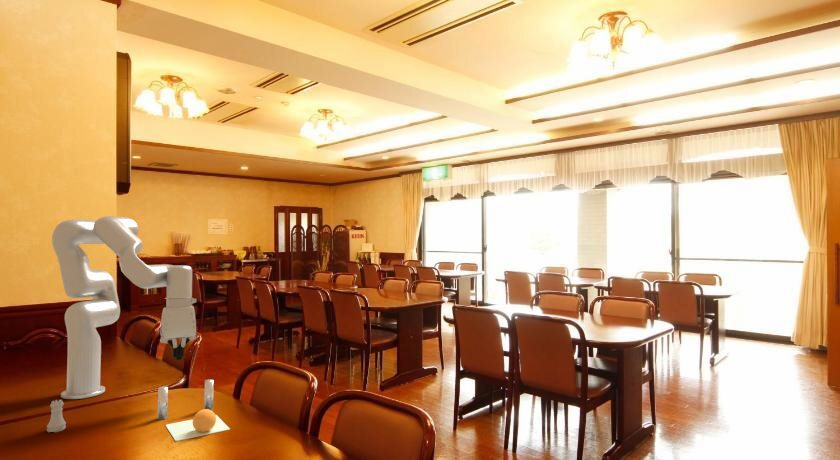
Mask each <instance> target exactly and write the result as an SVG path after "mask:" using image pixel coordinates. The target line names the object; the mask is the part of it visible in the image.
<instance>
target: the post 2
mask: <svg viewBox="0 0 840 460" xmlns="http://www.w3.org/2000/svg"><path fill="white" fill-rule="evenodd" d="M214 382H215V380H214V379H209V378H208V379H204V398H203V399H204V400H203V401H204V403H203V406H204V407H203V409H209V410H211V411H214V392H215V390H214V388H215V387H214V386H215V385H214Z"/></svg>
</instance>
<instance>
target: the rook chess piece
mask: <svg viewBox="0 0 840 460" xmlns="http://www.w3.org/2000/svg"><path fill="white" fill-rule="evenodd" d="M63 400H64V399H55V400H52V401H51V402H50V403H51V404H50V405H49V406H50V408H51V410H50V412H51V415H50V420H49V421H48V424H47V425H46V431H47V432H48V433H50V432H54V433H59V432H62V431H64V430H66V428H67V426H66V424H67V422H66V421H65V419H64V417H63V410H64V408H63V406H64V405H65V403H64V402H63Z"/></svg>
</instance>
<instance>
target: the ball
mask: <svg viewBox="0 0 840 460" xmlns="http://www.w3.org/2000/svg"><path fill="white" fill-rule="evenodd" d="M215 415H216V414H215V412H214V410H209V409H204V408H203V409H201V410H198V411H197V412H196V413H195V415H194V416H193V418H192V419H193V426H194V428H195V429H196V430H197V431H199V432H207V431H209V430H210V429H212V428H213V426H214V425H215V423H216V416H215Z"/></svg>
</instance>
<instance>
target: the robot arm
mask: <svg viewBox="0 0 840 460" xmlns="http://www.w3.org/2000/svg"><path fill="white" fill-rule="evenodd" d="M139 230H140V229H139V226H138V224H137V222H136V221H135V220H134V219H133V218H130V217H128V216H127V217H126V216H114V215H113V216H112V215H105V216H103V217H102V216H101V217H100V218H98V219H81V218H80V219H79V218H78V219H77V218H75V219H67V220H64V221H61V222H59V223H58V224H57V225H56V227H55V228H54V230H53V232H52V235H51V243H52V247H53V250H54V252H55V255H56V258H57V261H58V264H59V270H60V274H61V278H62V279H61V280H62V284H63V289H64V292H65V294H66V296H67V297H69V298H71V299H85V298H92V299H91V300H85V301H79V302H75V303H73V304H72V305H70V306H69V307H68V308H67V309H66V311H65V313H64V324H65V326H66V327H65V328H66V334H67V335H66V336H67V362H66V363H67V365H66V369H67V370H66V390H65V389H64V391H61V393H60V397H61V399H63V400H64V399H65V400H79V399H86V398H87V399H88V398H92V397H95V396H99V395H102V394H103V393H105V392H106V387H105V386H104V385H101V366H102V365H101V360H102V359H101V358H102V357H101V355H102V341H101V336H100V334H99V332H98V331H97V328H99V327H105V326H109V325H112V324H114V323H115V322H117V321H118V320H119V318H120V314H121V306H120V301H119V296H118V292H117V287H116V282H115V279H114V277H113V276H112V274H110V273H109V271H107V270H103V269H92V268H91V265H90V259H89V257H88V255H87V253H86V252H85V251H84V249H83V248H82V247H81V246H80V245H81V244H82V245H96V244H97V245H102V244H105V245H106V246H107V247H108V248H109V249H110V250H111V251H112V252H113V253H114V254H115V255H116V256H118V262H119V263H118V264H119V268H120V270H121V272H122V273H123V275H124V276H125V277H126V278H127V279H128V280H129V281H130V282H131V283H132V284H134V285H135V286H137V287H139V288H141V289H146V290H147V289H153V288H164V287H166V301H165V302H166V307H163V309H162V312H161V321H160V331H159V333H160V339H159V342H160V343H161V344H169V345H170V346H171V347H172V358H174V360H175V361H178V360H180V361H181V360H182V359H183V357H184V356H185V355H184V354H185V352H184V351H185V350H184V349H185V348H184V347H186V345H187V344H188V343H189V342H190V341H194V340H196V339H197V335H196V333H197V321H196V312H195V307H194V305H193V304H195V303H197V298H194V297H193V268H192V267H191V266H190V265H184V264H183V265H182V264H181V265H173V264H166V263H164V264H163V263H162V264H146V263H145V262H144V261H143V260H141V259H140V258H139V257H138V254H139V253H140V252H141V251H142V249H144V247H143V246H144V242H143V241H142V239H141V238H139V237H138V235H139ZM177 339H179V344H178V341H177Z"/></svg>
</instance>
